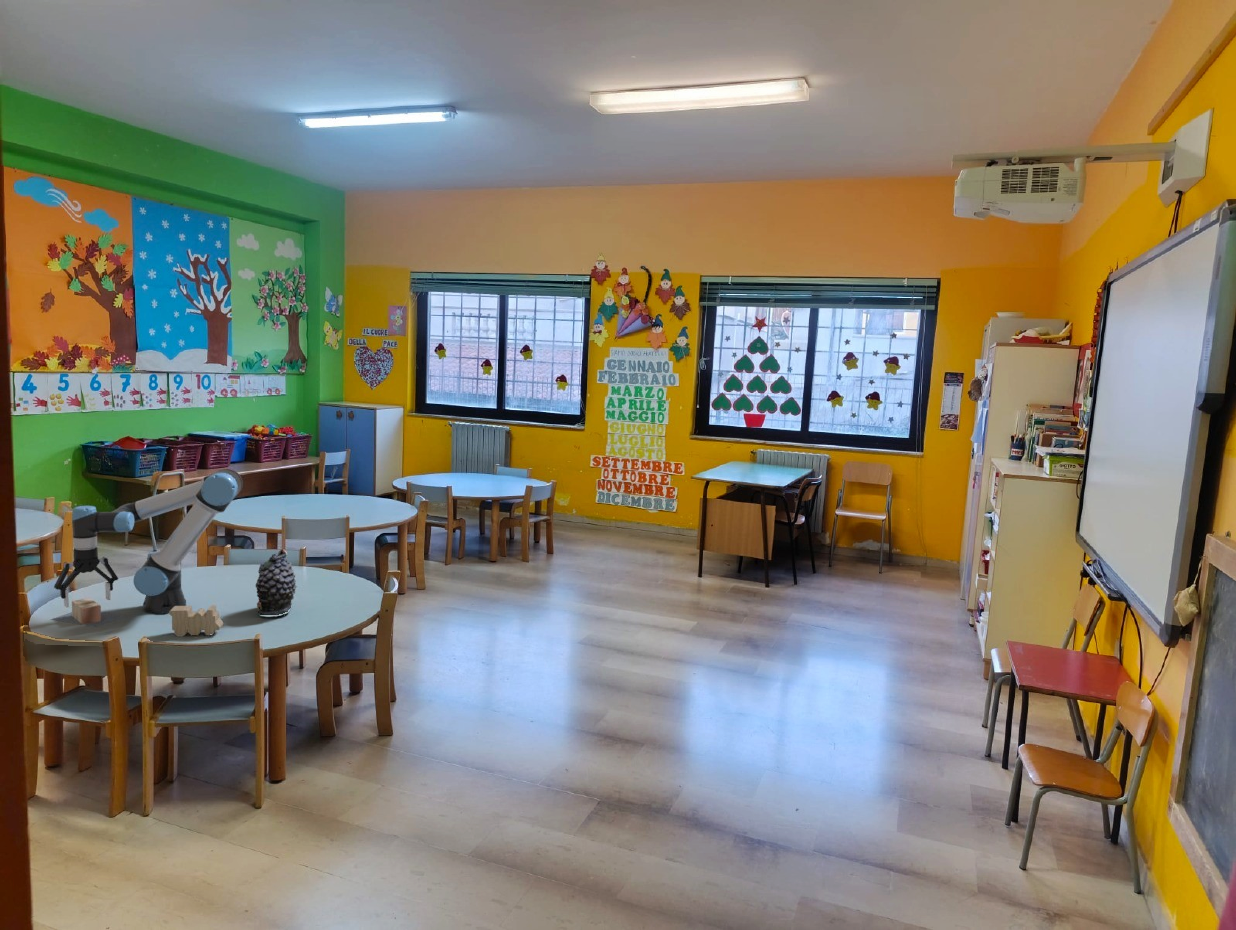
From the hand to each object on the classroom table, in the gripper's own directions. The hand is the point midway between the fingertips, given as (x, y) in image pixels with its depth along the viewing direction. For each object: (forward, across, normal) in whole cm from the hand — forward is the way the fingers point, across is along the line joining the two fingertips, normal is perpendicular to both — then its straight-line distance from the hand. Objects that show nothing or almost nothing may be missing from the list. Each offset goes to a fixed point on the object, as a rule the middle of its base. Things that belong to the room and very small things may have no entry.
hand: (87, 602), depth 303 cm
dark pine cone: (+8, -57, +31) cm, 65 cm away
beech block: (+3, 0, -7) cm, 8 cm away
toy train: (+8, -24, +38) cm, 45 cm away
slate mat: (+7, -1, -2) cm, 7 cm away
